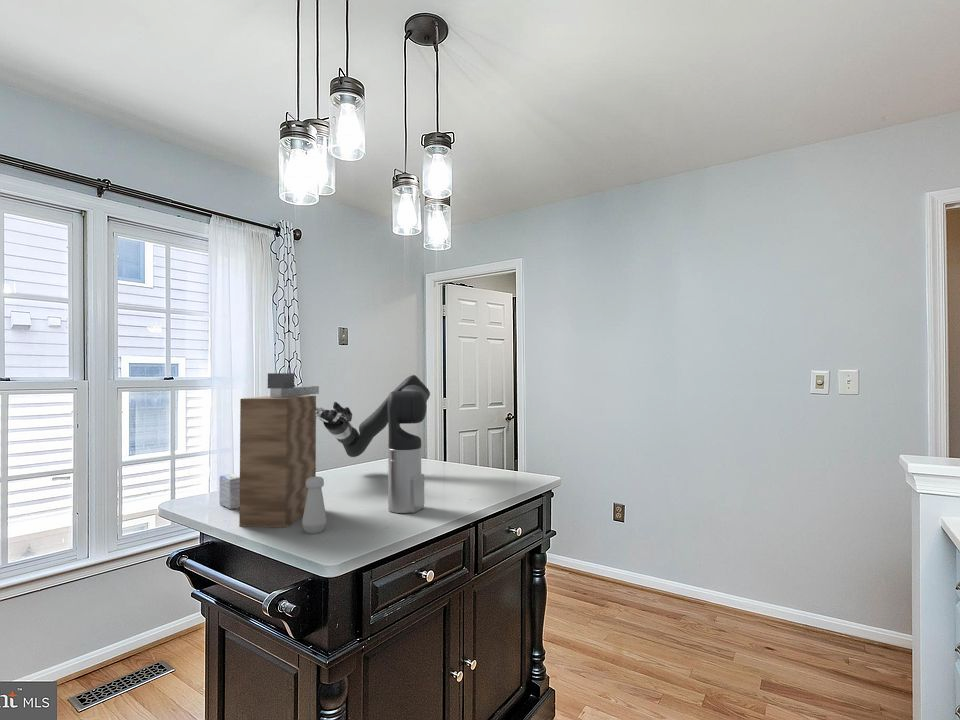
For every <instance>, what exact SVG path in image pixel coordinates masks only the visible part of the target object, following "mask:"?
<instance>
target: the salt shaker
mask: <svg viewBox="0 0 960 720" xmlns="http://www.w3.org/2000/svg"><path fill="white" fill-rule="evenodd" d="M324 486H325V481H324V478H323V477H322V476H316V477H310V478H308V479H307V480H306V488H308V493H307V498H306V504H305V509H304V514H303V516H302V520H301V524H302V528H303V529H304V532H305V533H306V534H311V535H312V534H319V533H322V532H324V530H325V527H326V525H327V524H328V523H327V522H328V519H327V515H326V514H327V513H326V508H325V501H324V496H323V490H322V488H323V487H324Z"/></svg>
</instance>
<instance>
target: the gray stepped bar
mask: <svg viewBox="0 0 960 720" xmlns="http://www.w3.org/2000/svg"><path fill="white" fill-rule="evenodd" d="M267 389H269V390H270V391H269V396H270V398H281V397H291V396H312V395H317V394H318V395H319V394H320V386H319V385H304V386H302V385H301V386H295V373H293V372H291V373H290V372H288V373H287V372H284V373H283V372H282V373H281V372H278V373H277V372H276V373H274V372H272V373H267Z"/></svg>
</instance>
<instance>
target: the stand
mask: <svg viewBox="0 0 960 720" xmlns="http://www.w3.org/2000/svg"><path fill="white" fill-rule="evenodd" d="M239 399H240V400H239V401H240V403H239V404H240V405H239V407H240V408H239V409H240V411H239V412H240V414H239V418H240V419H239V421H240V422H239V425H240V426H239V475H240V508H239V509H238V510H239V515H238V517H239V522H238V523H239V524H238V525H239V527H256V526H261V527H260V528H262V527H263V528H286V527H288V526H290V525H292V524H293V523H295V521H298V520H299V519H300V518H303V514H304V509H305V504H306V498H307V493H308V488H306V480H307V479H308V478H310V477H317V476H316V467H317V464H316V463H317V461H316V460H317V459H316V458H317V457H316V455H317V446H316V445H317V434H316V433H317V419H316V413H317V410H316V407H317V395H301V396H291V397H281V398H270V395H266V396H255V397H245V398H244V397H243V398H239ZM292 522H293V523H292ZM287 525H288V526H287Z"/></svg>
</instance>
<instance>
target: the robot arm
mask: <svg viewBox="0 0 960 720" xmlns="http://www.w3.org/2000/svg"><path fill="white" fill-rule="evenodd" d="M429 397H431V392H430V390H429V388H427V386H426V385H425V383H423V382H422V381H421V379H420V378H419V377H418V376H417V375H415V374H411V375H410V376H408V377H406V378H405V379H404V380H403V381H401V383H399V385H398V386H397V387H396V388H395V389H394V390H392V391H391V392H390V393H389V394H388V396H387V397H386V398H385V399H384V401H382V403H381V404H380V405H379V406H378V407H377V408H376V409H375V410H374V411H373V412H372V413H370V415H369V416H368V417H366V418H365V419H364V420H363V421H361V423H360V424H359V426H358V430H359V431H358V430H357V429H356V428H355V427H354V426H353V425H352V424H351V422H352V419H353V413H352V411H351V409H350V407H349V406H348V407H345V408H344V407H343V406H341V405H340V403H338V402H337V401H334V402H333V407H332V409H325V408H323V407H317V406H316V420H320V421H321V422H322V423H323V425H324V427H325V429H326V430H327V431H328V432H329V433H330V435H332V436H333V437H334V438H335V439H336V440H337V441H338V442H339V443H341V444H342V446H343V449H344V450H345V452H346V454H347V456H348V457H349V458H357V457H358V456H361V455H362V454H363V453H364V452H365V451H366V450H367V448H368V446H369V445H370V443H371V442H372V441H373V439H374V437H376V436H377V435H378V434H379V433H380V432H381V431H383V430H384V428H386V426H387V425H388V426H387V427H388V446H387V447H388V448H387V449H388V450H387V451H388V456H387V457H388V459H387V460H388V461H387V462H388V465H387V467H388V470H387V472H388V476H387V477H388V481H387V487H388V488H387V489H388V490H387V491H388V499H387V501H388V502H387V504H388V508H387V509H388V511H389V512H391V513H396V514H410V513H413V514H415V513H417V512H419V511H420V510H422V509H425V474H424V473H422V438H421V437H420V436H418V435H415V434H412V433H410V432H408V431H405V430H404V429H403V428H402V427H401V424H403V425H404V424H421V422H423V421H424V419H425V418H426V415H427V402H428V400H429Z"/></svg>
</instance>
